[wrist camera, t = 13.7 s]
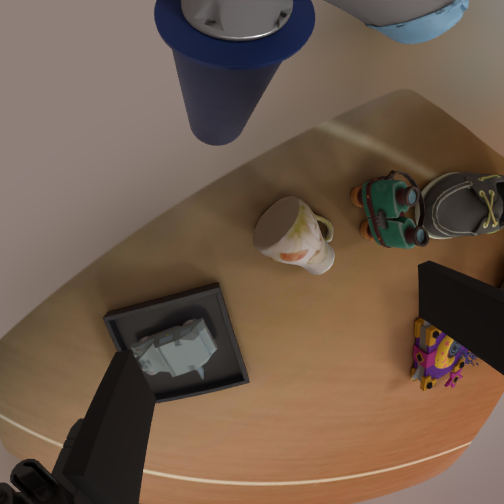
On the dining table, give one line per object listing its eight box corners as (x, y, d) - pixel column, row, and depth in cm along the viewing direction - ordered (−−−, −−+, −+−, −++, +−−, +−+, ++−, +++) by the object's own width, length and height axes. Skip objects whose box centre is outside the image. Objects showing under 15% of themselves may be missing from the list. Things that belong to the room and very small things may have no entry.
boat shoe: (403, 189, 37) (444, 190, 28) (496, 154, 39) (529, 153, 30) (417, 262, 39) (456, 276, 31) (506, 209, 41) (537, 213, 33)
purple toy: (465, 268, 41) (516, 286, 30) (453, 376, 47) (488, 404, 35) (408, 292, 40) (462, 321, 28) (401, 406, 45) (435, 443, 33)
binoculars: (462, 231, 28) (413, 265, 27) (408, 224, 39) (358, 250, 37) (448, 158, 26) (394, 180, 25) (392, 165, 37) (339, 185, 35)
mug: (310, 285, 37) (293, 301, 28) (261, 231, 39) (229, 228, 30) (352, 246, 35) (351, 248, 26) (300, 191, 37) (280, 175, 28)
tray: (107, 311, 34) (102, 317, 32) (218, 282, 35) (219, 287, 33) (148, 396, 37) (146, 405, 35) (247, 374, 38) (249, 382, 36)
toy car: (133, 339, 34) (125, 358, 30) (202, 313, 35) (202, 330, 30) (157, 377, 36) (152, 398, 31) (223, 354, 37) (226, 374, 32)
